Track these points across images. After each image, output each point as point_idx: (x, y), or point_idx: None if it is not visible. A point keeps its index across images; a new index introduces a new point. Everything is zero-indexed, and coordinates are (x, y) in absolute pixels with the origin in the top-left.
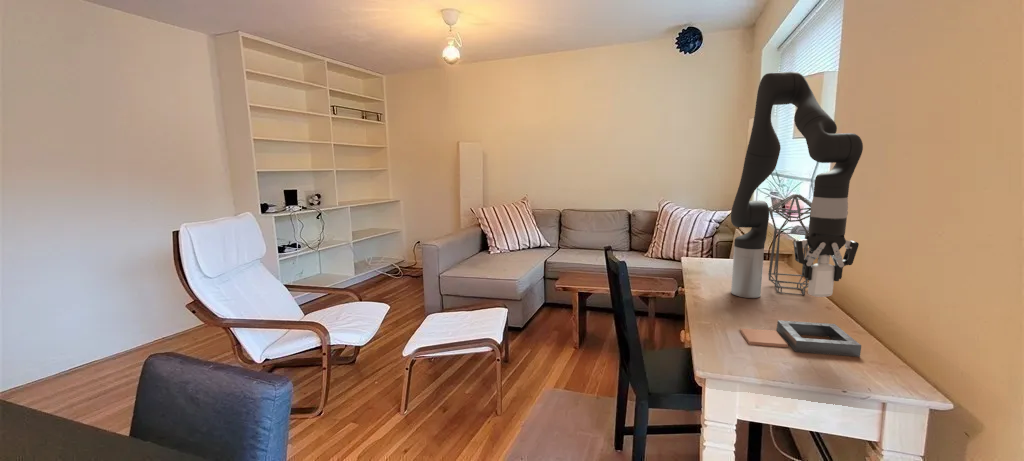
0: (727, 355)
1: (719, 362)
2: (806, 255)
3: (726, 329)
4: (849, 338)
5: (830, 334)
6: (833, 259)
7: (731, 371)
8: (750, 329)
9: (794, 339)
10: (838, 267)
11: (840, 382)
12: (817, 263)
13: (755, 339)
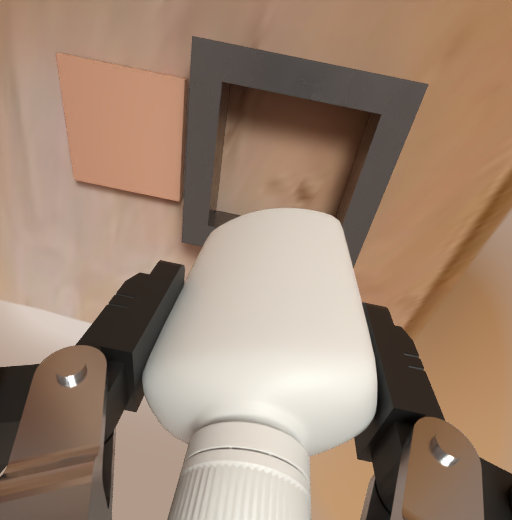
0: (22, 240)
1: (7, 270)
2: (9, 471)
3: (14, 34)
4: (356, 233)
5: (369, 125)
6: (396, 503)
7: (31, 303)
8: (92, 65)
9: (183, 227)
10: (372, 458)
11: None
12: (193, 423)
13: (94, 165)
